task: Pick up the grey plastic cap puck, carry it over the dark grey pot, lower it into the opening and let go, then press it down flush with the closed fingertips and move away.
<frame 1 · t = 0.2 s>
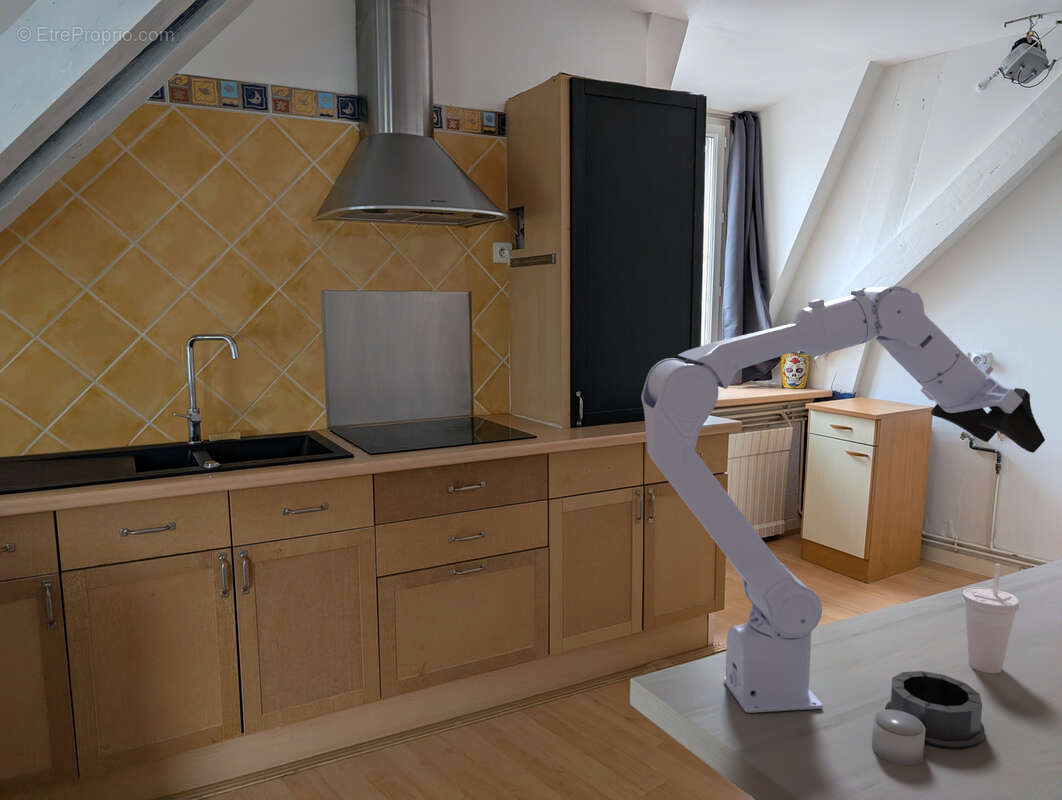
hand: (1013, 440, 90), 31 cm above the countertop, tool tilted 45°, fingers open, 7 cm apart
dark grey pot: (933, 723, 86), on the countertop
cap: (897, 751, 81), on the countertop
smoothie: (985, 667, 100), on the countertop
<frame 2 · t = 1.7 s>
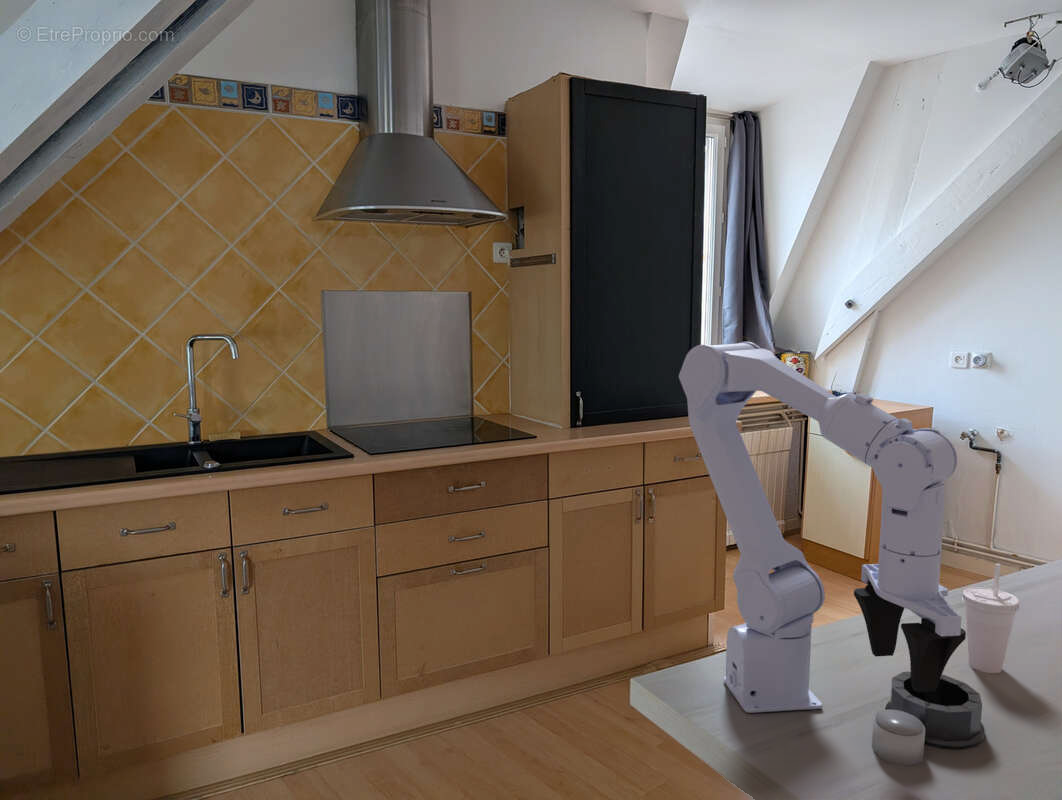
hand: (902, 671, 80), 9 cm above the countertop, tool pointing down, fingers open, 7 cm apart
nothing on the countertop moved.
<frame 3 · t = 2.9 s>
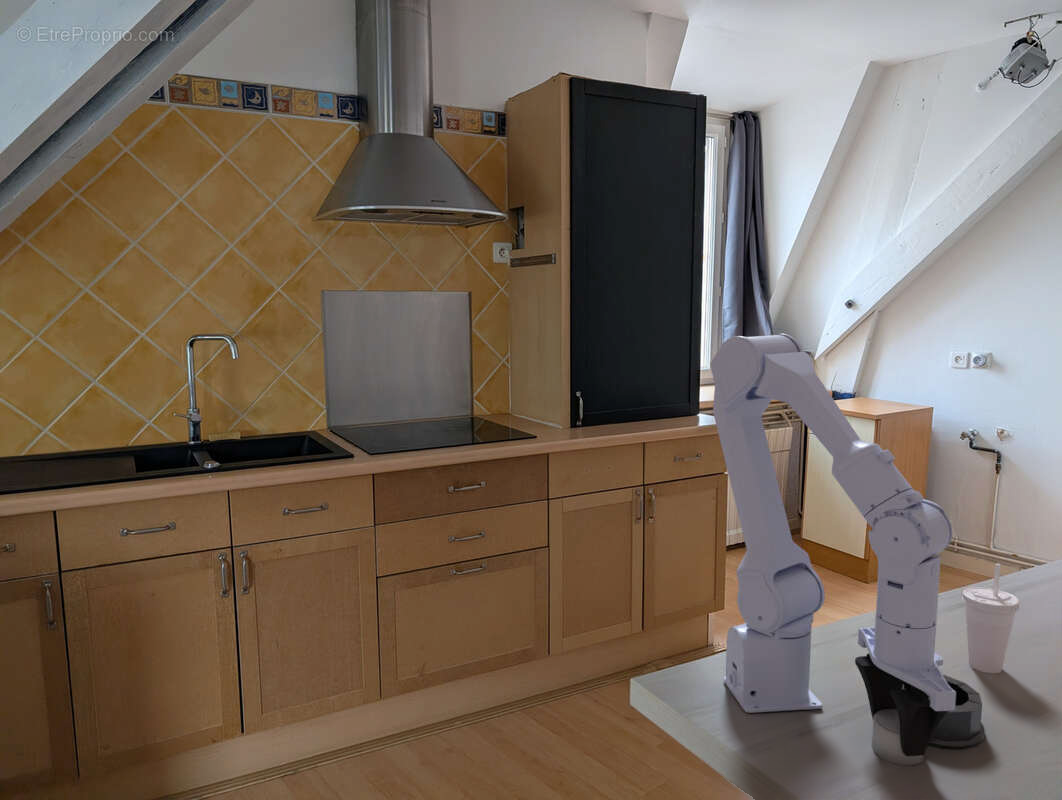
hand: (898, 738, 81), 1 cm above the countertop, tool pointing down, fingers closed on cap, 5 cm apart
cap: (897, 750, 81), on the countertop, touching gripper
everything else where it was.
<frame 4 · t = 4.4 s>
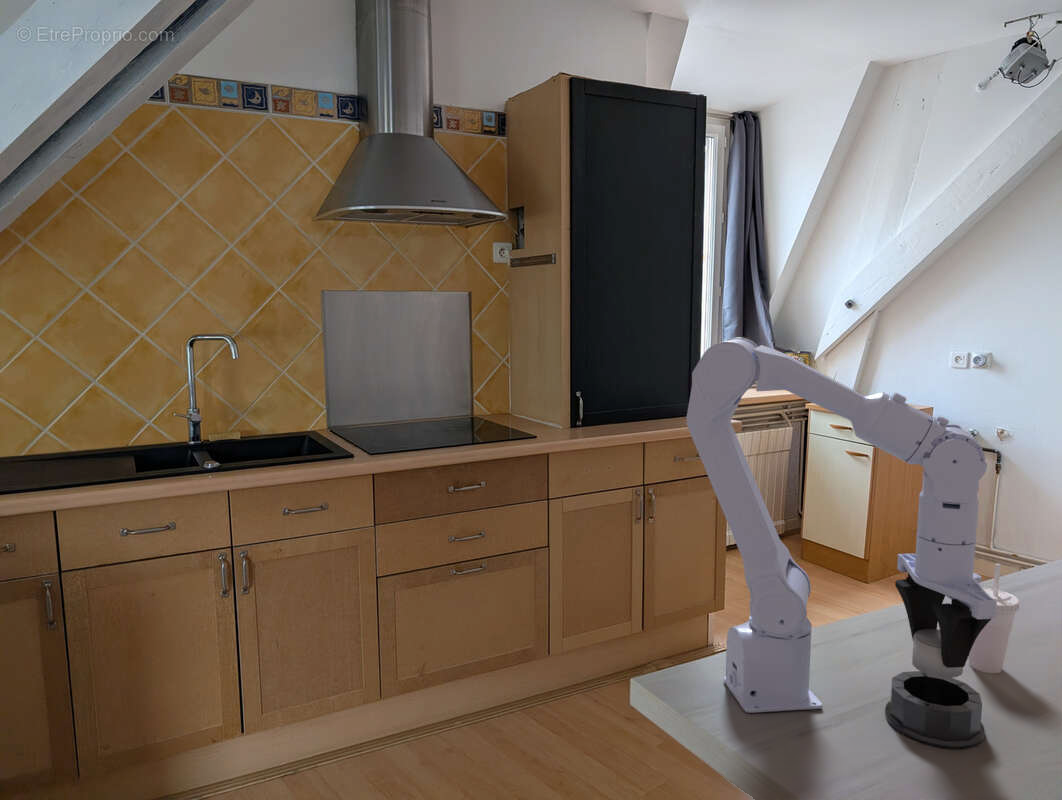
hand: (938, 654, 85), 8 cm above the countertop, tool pointing down, fingers closed on cap, 5 cm apart
cap: (937, 666, 85), point 7 cm above the countertop, touching gripper
everything else where it was.
when the fingers open (5 cm above the countertop, at t = 5.8 s): cap drops 2 cm, resting on dark grey pot.
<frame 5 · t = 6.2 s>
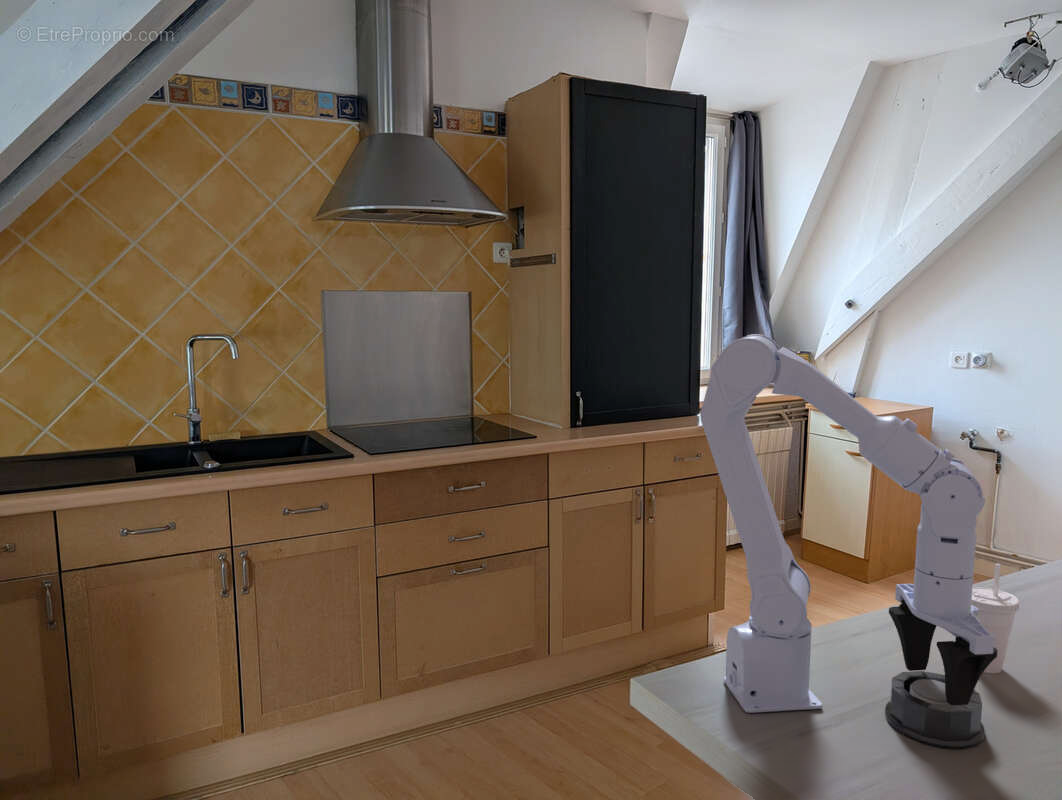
hand: (935, 685, 86), 5 cm above the countertop, tool pointing down, fingers open, 7 cm apart
cap: (932, 718, 86), point 1 cm above the countertop, touching dark grey pot
everything else where it was.
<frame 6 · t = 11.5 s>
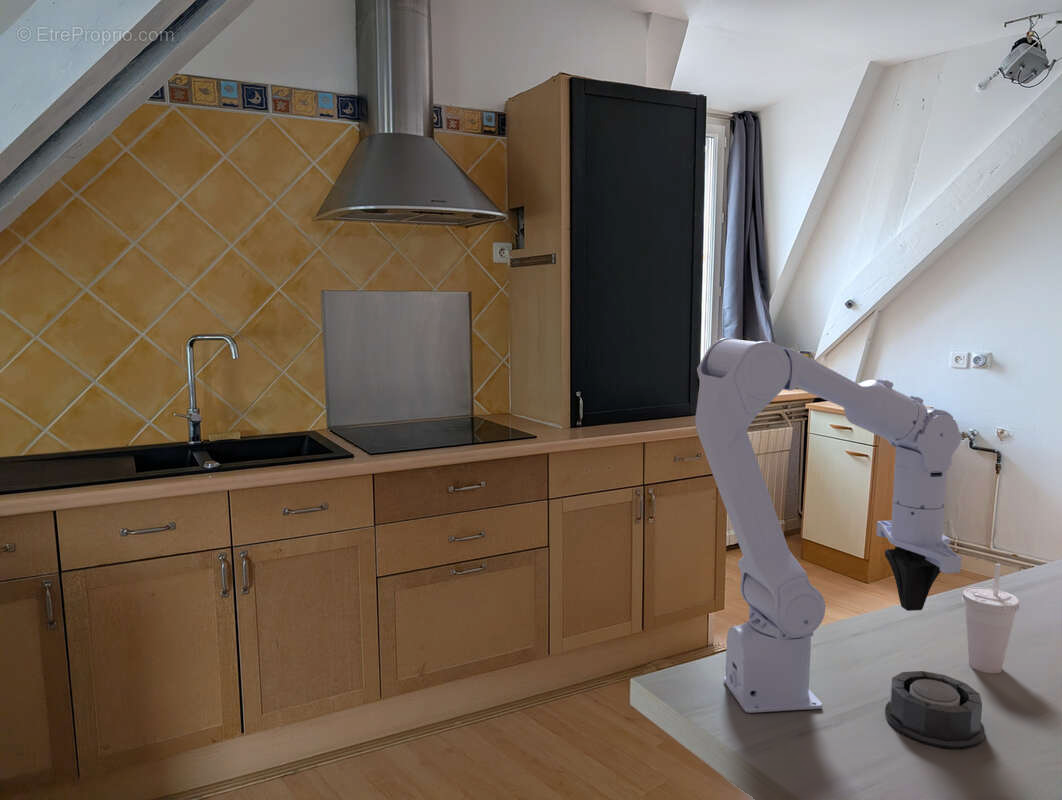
hand: (911, 608, 95), 9 cm above the countertop, tool pointing down, fingers closed
nothing on the countertop moved.
at the end: cap 0.1 cm off-centre on the dark grey pot, point 0.6 cm above the dark grey pot's base; cap tilted 0°; the gripper is holding nothing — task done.
